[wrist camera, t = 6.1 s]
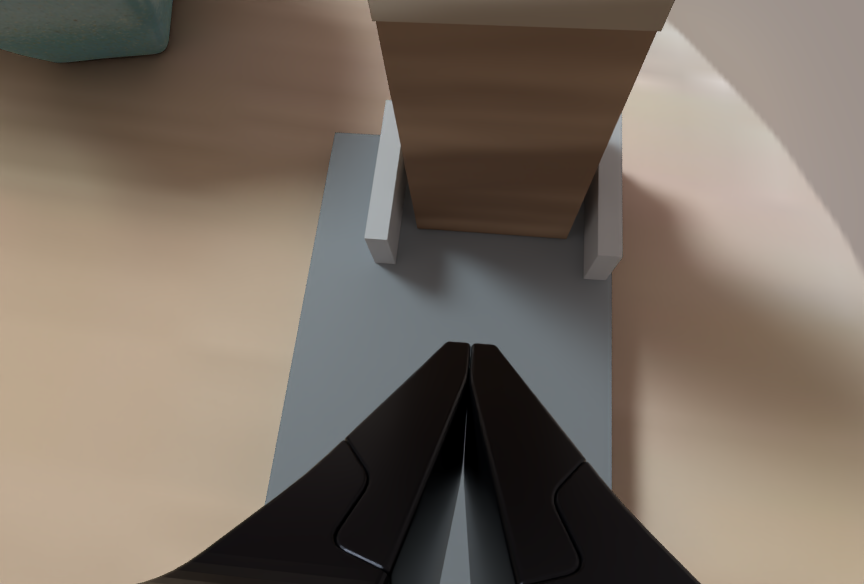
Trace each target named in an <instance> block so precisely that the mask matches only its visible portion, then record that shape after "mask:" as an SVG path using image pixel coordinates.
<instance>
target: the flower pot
mask: <svg viewBox="0 0 864 584" xmlns="http://www.w3.org/2000/svg"><path fill="white" fill-rule="evenodd" d="M172 3H173V0H0V49H2V50H6V51H9V52H13V53H16V54H20V55H24V56H28V57H32V58H37V59H42V60H46V61H51V62H55V63H64V62H75V61H84V60H93V59H102V58H114V57H126V56H137V55H149V54H157V53H160V52H162V51H164V50H165V49H166V47H167V45H168V41H169V33H170V23H171V13H172Z"/></svg>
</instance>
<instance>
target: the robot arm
mask: <svg viewBox="0 0 864 584" xmlns="http://www.w3.org/2000/svg"><path fill="white" fill-rule="evenodd" d="M470 352H471V355H470ZM466 414H467V415H466ZM465 429H466V432H465ZM464 444H465V448H464ZM463 459H464V469H463V474H464V494H465V509H466V524H467V539H468V554H469V569H470V584H701V583H700V582H699V581H698V580H697V579H696V578H695V577H694V576H693V575H692V574H691V573H690V572H689V571H688V570H687V569H686V568H685V567H684V566H683V565H682V564H681V563H680V562H679V561H678V560H677V559H676V558H675V557H674V556H673V555H672V554H671V553H670V552H669V551H668V550H667V549H666V548H665V547H664V546H663V545H662V544H661V543H660V542H659V541H658V540H657V539H656V538H655V537H654V536H653V535H652V534H651V533H650V532H649V531H648V530H647V529H646V528H645V527H644V526H643V525H642V523H641V522H640V521H639V520H638V519H637V518H636V517H635V516H634V515H633V514H632V513H631V512H630V511H629V510H628V509H627V508H626V507H625V505H624V504H623V503H622V502H621V501H620V500H619V499H618V497H617V496H616V495H615V494H614V493H613V491H612V490H611V489H610V488H609V487H608V486H607V484H606V483H605V482H604V481H603V480H602V478H601V477H600V476H599V475H598V473H597V472H596V471H595V470H594V468H593V467H592V466H591V465H590V463H589V462H586V459H585V457H584V456H583V455H582V454H581V452H580V451H579V450H578V448H577V447H576V446H575V445H574V443H573V442H572V441H571V440H570V438H569V437H568V436H567V435H566V433H565V432H564V431H563V430H562V428H561V427H560V426H559V424H558V423H557V422H556V421H555V419H554V418H553V417H552V416H551V414H550V413H549V412H548V411H547V409H546V408H545V407H544V406H543V404H542V403H541V402H540V401H539V399H538V398H537V397H536V395H535V394H534V393H533V392H532V390H531V389H530V388H529V387H528V385H527V384H526V383H525V382H524V380H523V379H522V378H521V377H520V375H519V374H518V373H517V371H516V370H515V369H514V368H513V366H512V365H511V364H510V363H509V361H508V360H507V359H506V358H505V356H504V355H503V354H502V353H501V351H500V350H499V349H498V347H497V346H495V345H493V344H479V343H475V344H473V345H472V346H470V344H469V343H465V342H451V341H449V342H446V343H445V344H444V345H443V346H442V347H441V348H440V349H439V350H437V351H436V352H435V353H434V354H433V355H432V356H431V357H430V358H429V359H428V360H427V361H426V362H425V363H424V364H423V365H422V366H421V367H419V368H418V369H417V370H416V371H415V372H414V373H413V374H412V375H411V376H410V377H409V378H408V379H407V380H406V381H405V382H404V383H403V384H401V385H400V386H399V387H398V388H397V389H396V390H395V391H394V392H393V393H392V394H391V395H390V396H389V397H388V398H387V399H386V400H385V401H384V402H382V403H381V404H380V405H379V406H378V407H377V408H376V409H375V410H374V411H373V412H372V413H371V414H370V415H369V416H368V417H367V418H366V419H364V420H363V421H362V422H361V423H360V424H359V425H358V426H357V427H356V428H355V429H354V430H353V431H352V432H351V433H350V434H349V435H348V436H347V437H346V438H345V440H342V441H341V442H340V443H339V444H338V445H337V446H336V447H335V448H334V449H332V450H331V451H330V452H329V453H328V454H327V455H326V456H325V457H324V458H323V459H321V460H320V461H319V462H318V463H317V464H316V465H315V466H314V467H312V468H311V469H310V470H309V471H308V472H307V473H306V474H304V475H303V476H302V477H301V478H299V479H298V480H297V481H296V482H294V483H293V484H292V485H290V486H289V487H288V488H287V489H285V490H284V491H283V492H282V493H280V494H279V495H278V496H276V497H275V498H274V499H272V500H271V501H270V502H268V503H267V504H266V505H264V506H263V507H262V508H260V509H259V510H258V511H256V512H255V513H254V514H252V515H251V516H250V517H248V518H247V519H246V520H244V521H243V522H242V523H240V524H239V525H238V526H236V527H235V528H234V529H232V530H231V531H230V532H228V533H227V534H226V535H224V536H223V537H222V538H220V539H219V540H218V541H216V542H215V543H214V544H212V545H211V546H210V547H208V548H207V549H206V550H204V551H203V552H201V553H200V554H199V555H197V556H196V557H194V558H193V559H191V560H190V561H188V562H187V563H185V564H183V565H182V566H180V567H178V568H176V569H175V570H173V571H171V572H169V573H166V574H164V575H162V576H160V577H157V578H154V579H152V580H149V581H146V582H142V583H138V584H440V579H441V574H442V570H443V565H444V560H445V555H446V550H447V545H448V540H449V536H450V531H451V526H452V521H453V516H454V511H455V506H456V501H457V497H458V492H459V487H460V481H461V476H462V468H463Z"/></svg>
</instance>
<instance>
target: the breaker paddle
mask: <svg viewBox="0 0 864 584" xmlns="http://www.w3.org/2000/svg"><path fill="white" fill-rule="evenodd" d="M674 1H675V0H368V3H369V8H370V13H371V18H372V21H376V25H377V30H378V35H379V40H380V45H381V50H382V55H383V60H384V65H385V70H386V75H387V80H388V85H389V90H390V95H391V100H392V105H393V110H394V115H395V120H396V125H397V129H398V134H399V139H400V144H401V149H402V154H403V159H404V164H405V169H406V174H407V179H408V184H409V189H410V194H411V199H412V204H413V209H414V214H415V219H416V224H417V228H419V229H433V230H447V231H461V232H475V233H489V234H503V235H518V236H532V237H546V238H560V239H567V236H568V234H569V232H570V230H571V227H572V225H573V223H574V220H575V218H576V216H577V214H578V211H579V209H580V207H581V204H582V202H583V200H584V197H585V195H586V193H587V191H588V188H589V186H590V184H591V181H592V179H593V177H594V175H595V172H596V170H597V168H598V165H599V163H600V161H601V158H602V156H603V154H604V152H605V149H606V147H607V145H608V142H609V140H610V138H611V136H612V133H613V131H614V129H615V126H616V124H617V122H618V119H619V117H620V115H621V113H622V110H623V108H624V106H625V103H626V101H627V99H628V97H629V94H630V92H631V90H632V87H633V85H634V83H635V80H636V78H637V76H638V74H639V71H640V69H641V67H642V64H643V62H644V60H645V58H646V55H647V53H648V51H649V48H650V46H651V44H652V41H653V39H654V37H655V35H656V32H657V31H661V30H662V28H663V26H664V24H665V21H666V19H667V17H668V15H669V12H670V10H671V8H672V5H673V3H674Z"/></svg>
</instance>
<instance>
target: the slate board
mask: <svg viewBox="0 0 864 584" xmlns="http://www.w3.org/2000/svg"><path fill="white" fill-rule="evenodd" d="M622 257H623V225H622V113H621V115H620V117H619V119H618V122H617V124H616V126H615V129H614V131H613V133H612V136H611V138H610V140H609V142H608V145H607V147H606V149H605V152H604V154H603V156H602V158H601V161H600V163H599V165H598V168H597V170H596V172H595V175H594V177H593V179H592V181H591V184H590V186H589V188H588V191H587V193H586V195H585V197H584V200H583V202H582V204H581V207H580V209H579V211H578V214H577V216H576V218H575V220H574V223H573V225H572V227H571V230H570V232H569V234H568V236H567V239H560V238H546V237H532V236H518V235H503V234H489V233H475V232H461V231H447V230H433V229H419V228H417V224H416V219H415V214H414V209H413V204H412V199H411V194H410V189H409V184H408V179H407V174H406V169H405V164H404V159H403V154H402V149H401V144H400V139H399V134H398V129H397V125H396V120H395V115H394V110H393V105H392V100H386V104H385V110H384V116H383V123H382V129H381V135H370V134H352V133H335V136H334V141H333V147H332V152H331V157H330V163H329V168H328V173H327V178H326V184H325V189H324V194H323V200H322V205H321V210H320V215H319V221H318V226H317V231H316V237H315V242H314V247H313V253H312V258H311V263H310V268H309V274H308V279H307V284H306V290H305V295H304V300H303V305H302V311H301V316H300V321H299V327H298V332H297V337H296V342H295V348H294V353H293V358H292V364H291V369H290V374H289V379H288V385H287V390H286V395H285V401H284V406H283V411H282V417H281V422H280V427H279V432H278V438H277V443H276V448H275V454H274V459H273V464H272V469H271V475H270V480H269V485H268V491H267V496H266V501H265V505H266V504H267V503H268V502H270V501H271V500H272V499H274V498H275V497H276V496H278V495H279V494H280V493H282V492H283V491H284V490H285V489H287V488H288V487H289V486H290V485H292V484H293V483H294V482H296V481H297V480H298V479H299V478H301V477H302V476H303V475H304V474H306V473H307V472H308V471H309V470H310V469H311V468H312V467H314V466H315V465H316V464H317V463H318V462H319V461H320V460H321V459H323V458H324V457H325V456H326V455H327V454H328V453H329V452H330V451H331V450H332V449H334V448H335V447H336V446H337V445H338V444H339V443H340V442H341V441H342V440H345V438H346V437H347V436H348V435H349V434H350V433H351V432H352V431H353V430H354V429H355V428H356V427H357V426H358V425H359V424H360V423H361V422H362V421H363V420H364V419H366V418H367V417H368V416H369V415H370V414H371V413H372V412H373V411H374V410H375V409H376V408H377V407H378V406H379V405H380V404H381V403H382V402H384V401H385V400H386V399H387V398H388V397H389V396H390V395H391V394H392V393H393V392H394V391H395V390H396V389H397V388H398V387H399V386H400V385H401V384H403V383H404V382H405V381H406V380H407V379H408V378H409V377H410V376H411V375H412V374H413V373H414V372H415V371H416V370H417V369H418V368H419V367H421V366H422V365H423V364H424V363H425V362H426V361H427V360H428V359H429V358H430V357H431V356H432V355H433V354H434V353H435V352H436V351H437V350H439V349H440V348H441V347H442V346H443V345H444V344H445V343H446V342H449V341H451V342H465V343H469V344H470V346H472V345H473V344H475V343H479V344H493V345H495V346H497V347H498V349H499V350H500V351H501V353H502V354H503V355H504V356H505V358H506V359H507V360H508V361H509V363H510V364H511V365H512V366H513V368H514V369H515V370H516V371H517V373H518V374H519V375H520V377H521V378H522V379H523V380H524V382H525V383H526V384H527V385H528V387H529V388H530V389H531V390H532V392H533V393H534V394H535V395H536V397H537V398H538V399H539V401H540V402H541V403H542V404H543V406H544V407H545V408H546V409H547V411H548V412H549V413H550V414H551V416H552V417H553V418H554V419H555V421H556V422H557V423H558V424H559V426H560V427H561V428H562V430H563V431H564V432H565V433H566V435H567V436H568V437H569V438H570V440H571V441H572V442H573V443H574V445H575V446H576V447H577V448H578V450H579V451H580V452H581V454H582V455H583V456H584V457H585V459H586V462H589V463H590V465H591V466H592V467H593V468H594V470H595V471H596V472H597V473H598V475H599V476H600V477H601V478H602V480H603V481H604V482H605V483H606V484H607V486H608V487H609V488H610V489H611V490H612V271H613V270H614V268H615V267H616V265H617V264H618V263H619V261H620V260H621V259H622ZM470 355H471V352H470ZM466 415H467V414H466ZM465 432H466V429H465ZM464 448H465V444H464ZM463 469H464V459H463V468H462V476H461V481H460V487H459V492H458V497H457V501H456V506H455V511H454V516H453V521H452V526H451V531H450V536H449V540H448V545H447V550H446V555H445V560H444V565H443V570H442V574H441V579H440V584H470V569H469V554H468V539H467V524H466V509H465V494H464V474H463Z"/></svg>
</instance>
